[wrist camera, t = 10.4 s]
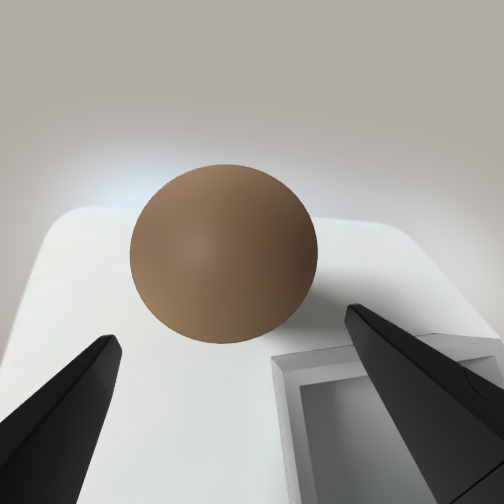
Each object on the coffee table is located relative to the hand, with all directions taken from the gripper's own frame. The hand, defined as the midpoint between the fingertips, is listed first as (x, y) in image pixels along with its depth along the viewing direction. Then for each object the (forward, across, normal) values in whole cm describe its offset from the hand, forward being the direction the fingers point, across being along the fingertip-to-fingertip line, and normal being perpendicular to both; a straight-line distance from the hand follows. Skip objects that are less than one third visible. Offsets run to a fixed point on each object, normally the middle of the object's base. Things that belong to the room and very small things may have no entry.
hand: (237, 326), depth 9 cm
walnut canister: (+8, 0, +5) cm, 10 cm away
